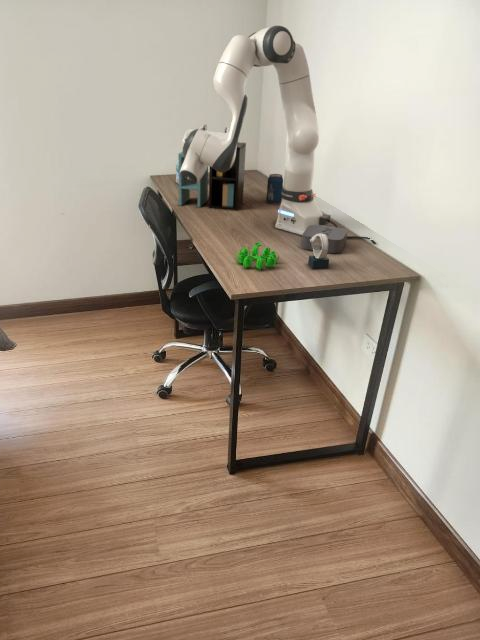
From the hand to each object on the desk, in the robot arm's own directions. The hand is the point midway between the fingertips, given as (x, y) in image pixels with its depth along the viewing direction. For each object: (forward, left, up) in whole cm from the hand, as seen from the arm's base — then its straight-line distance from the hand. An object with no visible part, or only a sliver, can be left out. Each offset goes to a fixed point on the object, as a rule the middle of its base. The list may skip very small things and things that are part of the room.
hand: (216, 127), depth 208 cm
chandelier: (-51, +17, -35) cm, 64 cm away
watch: (-64, +1, -35) cm, 73 cm away
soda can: (+6, -37, -35) cm, 52 cm away
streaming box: (-50, -16, -35) cm, 63 cm away
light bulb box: (+57, -20, -35) cm, 71 cm away
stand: (+25, -5, -35) cm, 44 cm away
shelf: (+13, -15, -35) cm, 41 cm away
